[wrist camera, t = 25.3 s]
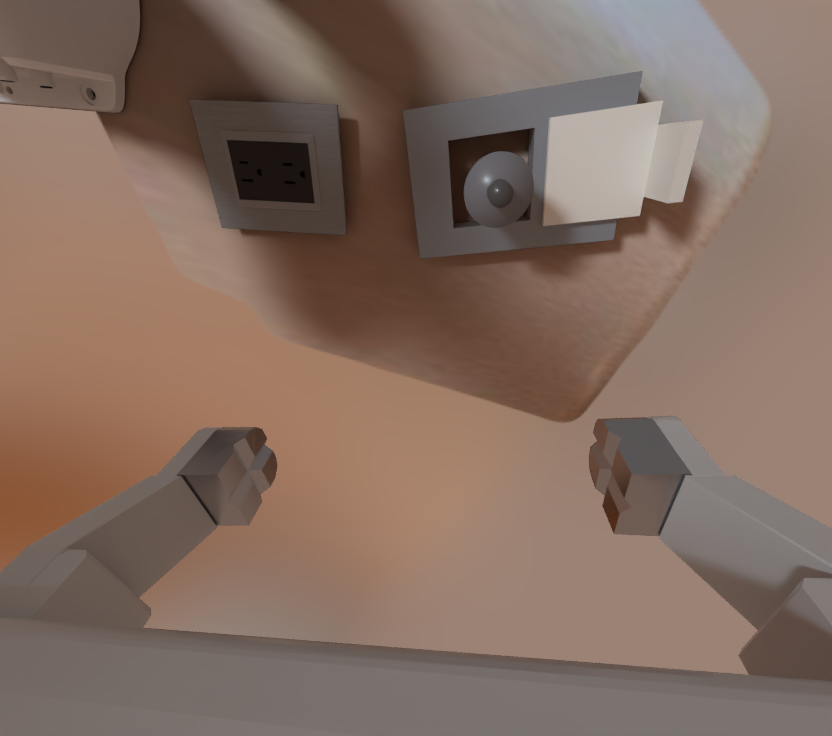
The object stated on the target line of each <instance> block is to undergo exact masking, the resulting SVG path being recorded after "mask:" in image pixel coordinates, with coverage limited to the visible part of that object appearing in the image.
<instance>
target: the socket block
mask: <svg viewBox="0 0 832 736" xmlns="http://www.w3.org/2000/svg"><path fill="white" fill-rule="evenodd" d="M642 72H643V71H640V72H633V73H627V74H621V75H615V76H609V77H603V78H597V79H591V80H585V81H579V82H573V83H567V84H561V85H555V86H549V87H543V88H536V89H530V90H524V91H518V92H512V93H506V94H500V95H494V96H488V97H482V98H476V99H470V100H464V101H458V102H452V103H446V104H439V105H433V106H427V107H421V108H415V109H409V110H403V117H404V126H405V135H406V143H407V152H408V161H409V169H410V178H411V187H412V195H413V204H414V212H415V221H416V230H417V238H418V247H419V256H420V259H423V258H433V257H444V256H454V255H464V254H474V253H485V252H495V251H505V250H515V249H525V248H536V247H546V246H556V245H566V244H577V243H587V242H597V241H607V240H614V235H615V229H616V223H617V218H615V219H606V220H597V221H587V222H578V223H568V224H559V225H550V226H543V225H542V217H543V201H544V186H545V170H546V155H547V140H548V124H549V118H551V117H557V116H564V115H570V114H577V113H583V112H590V111H597V110H603V109H610V108H616V107H623V106H630V105H636V104H637V101H638V95H639V89H640V83H641V77H642ZM526 129H529V152H528V166H529V167H530V169H531V172H532V175H533V180H534V191H533V196H532V199H531V202H530V204H529V206H528V208H527V210H526V216H521V217H520V218H519V219H517V220H516V221H515V222H513V223H512V224H510V225H507V226H504V227H500V228H490V227H486V226H483V225H481V224H479V223H478V222H476V221H472V222H463V223H454V220H453V203H452V187H451V171H450V155H449V141H451V140H458V139H465V138H472V137H478V136H485V135H492V134H499V133H505V132H512V131H519V130H526Z"/></svg>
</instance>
